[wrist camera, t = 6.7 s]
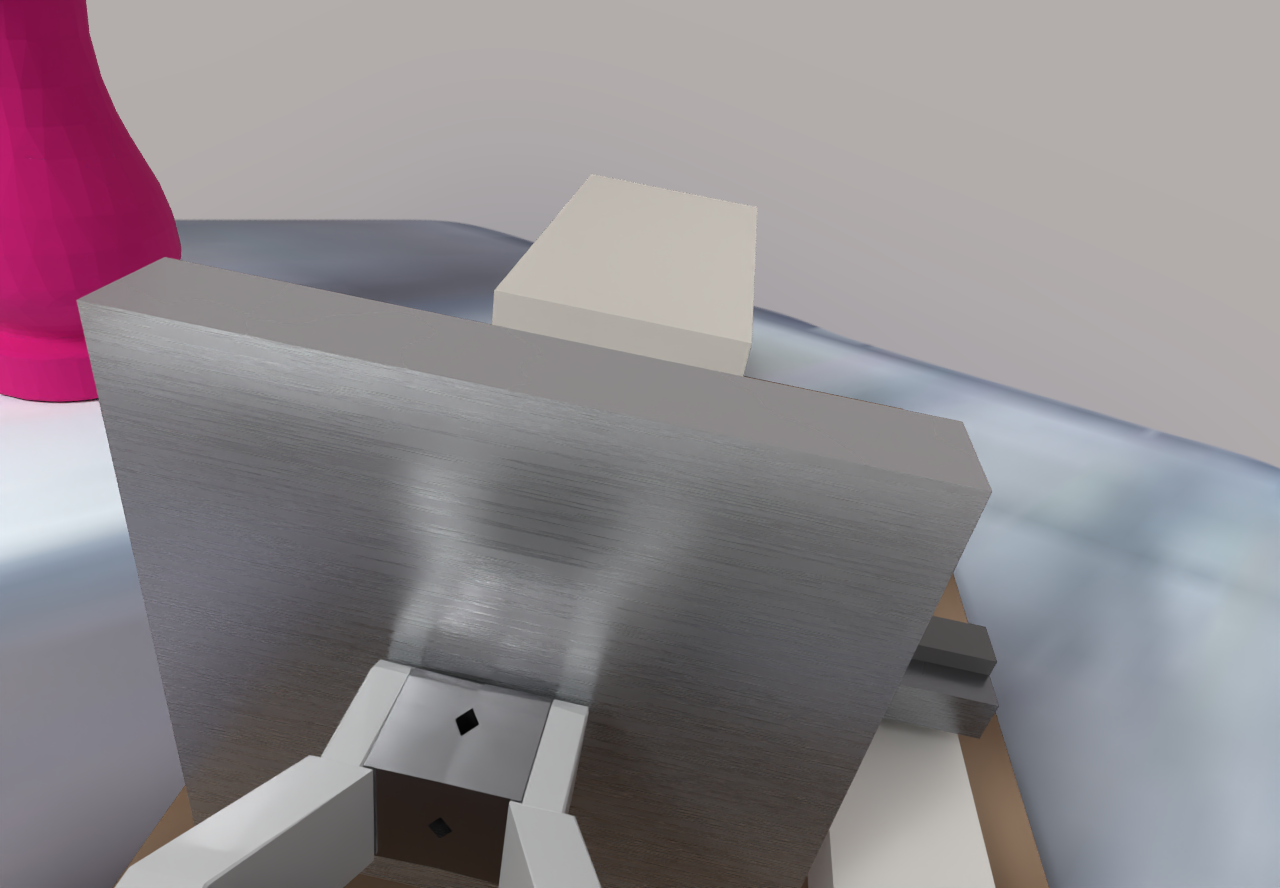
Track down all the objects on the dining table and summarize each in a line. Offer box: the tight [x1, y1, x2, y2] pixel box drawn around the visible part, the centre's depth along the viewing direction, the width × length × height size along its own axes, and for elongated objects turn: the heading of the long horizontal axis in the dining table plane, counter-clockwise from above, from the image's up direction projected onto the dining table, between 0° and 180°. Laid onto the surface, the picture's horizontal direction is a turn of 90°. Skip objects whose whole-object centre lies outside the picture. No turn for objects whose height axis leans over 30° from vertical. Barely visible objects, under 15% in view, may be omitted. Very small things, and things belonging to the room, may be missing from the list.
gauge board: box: [113, 376, 1049, 888], centre depth 22 cm, size 30×17×1 cm, turn 172°
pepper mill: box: [0, 0, 181, 402], centre depth 24 cm, size 7×7×20 cm
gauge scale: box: [808, 718, 995, 888], centre depth 19 cm, size 14×3×2 cm, turn 172°
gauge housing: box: [492, 174, 757, 376], centre depth 25 cm, size 12×6×8 cm, turn 172°
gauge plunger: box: [77, 257, 999, 888], centre depth 19 cm, size 20×14×10 cm
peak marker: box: [912, 616, 997, 675], centre depth 17 cm, size 1×3×2 cm, turn 83°
